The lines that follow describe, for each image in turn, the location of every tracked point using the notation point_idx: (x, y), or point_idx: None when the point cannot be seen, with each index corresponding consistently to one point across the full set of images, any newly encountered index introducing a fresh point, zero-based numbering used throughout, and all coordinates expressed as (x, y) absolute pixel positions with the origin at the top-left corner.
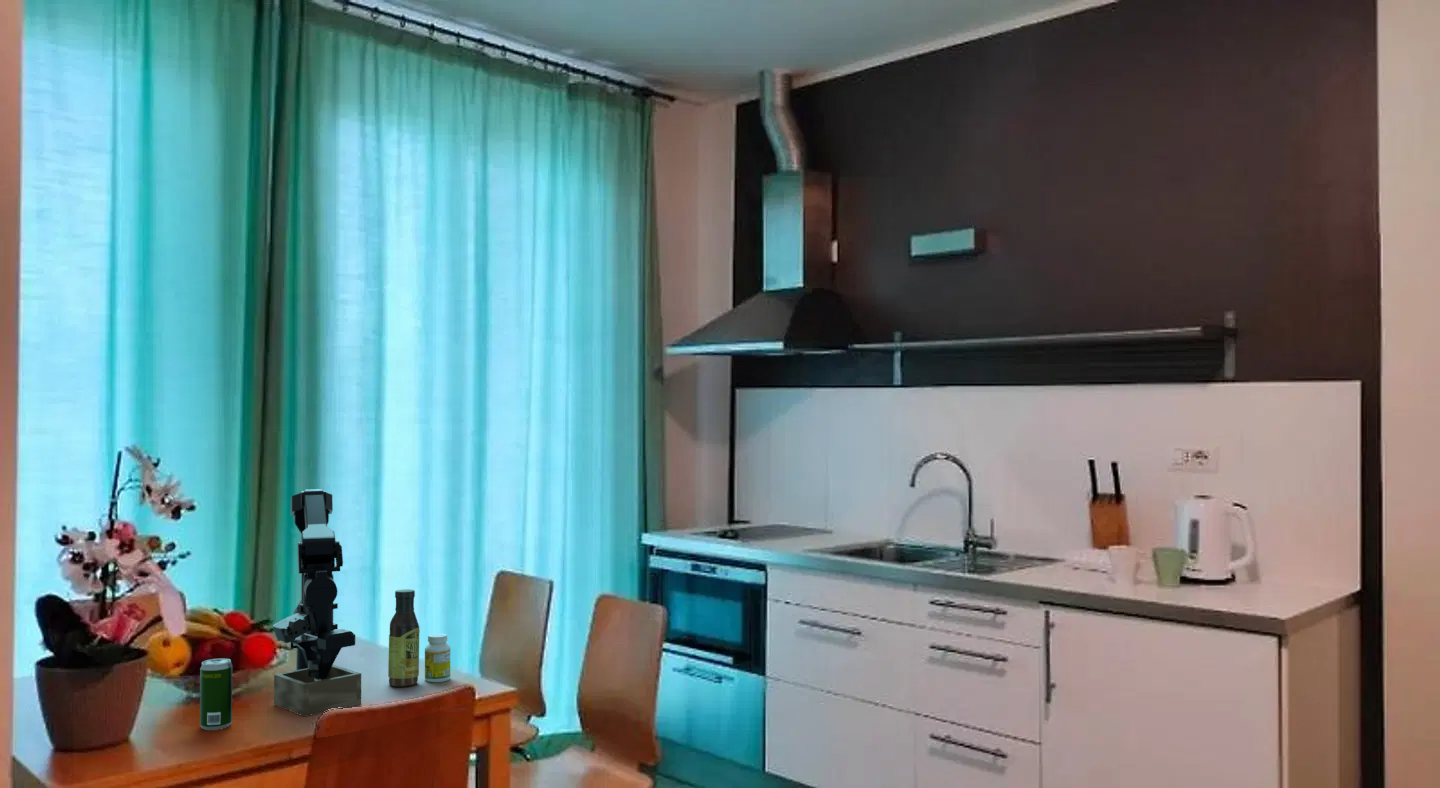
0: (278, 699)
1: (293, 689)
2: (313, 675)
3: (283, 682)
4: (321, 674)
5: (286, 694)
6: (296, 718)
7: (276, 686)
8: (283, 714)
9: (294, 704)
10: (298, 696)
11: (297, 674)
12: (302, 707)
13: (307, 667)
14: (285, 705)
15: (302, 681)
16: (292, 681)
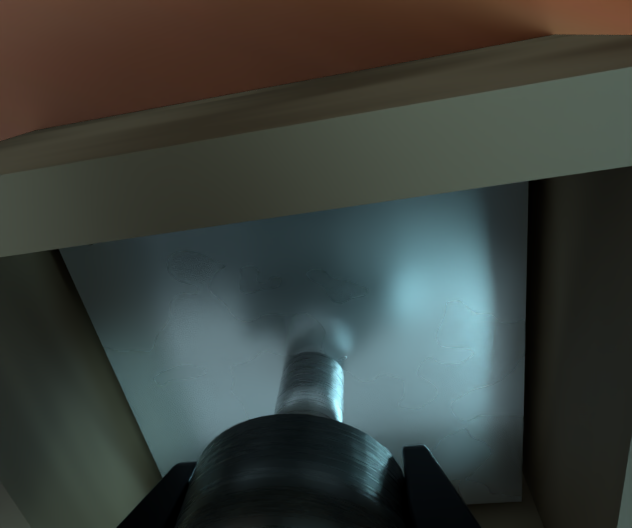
0: (481, 53)
1: (106, 140)
2: (210, 453)
3: (388, 97)
4: (133, 514)
5: (306, 95)
6: (10, 65)
7: (590, 48)
8: (184, 8)
9: (152, 114)
10: (29, 147)
11: (613, 371)
12: (12, 140)
13: (470, 522)
14: (331, 78)
15: (566, 360)
16: (81, 160)
